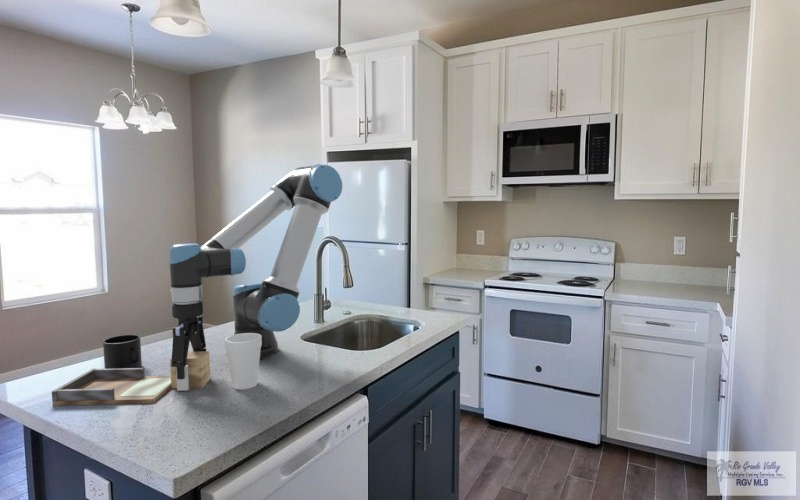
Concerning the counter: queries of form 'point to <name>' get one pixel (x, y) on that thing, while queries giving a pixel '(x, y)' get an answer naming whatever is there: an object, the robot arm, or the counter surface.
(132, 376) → the slot board
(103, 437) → the counter surface
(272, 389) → the counter surface
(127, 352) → the mug
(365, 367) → the counter surface
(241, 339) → the foam cup
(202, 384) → the oak block
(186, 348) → the robot arm
